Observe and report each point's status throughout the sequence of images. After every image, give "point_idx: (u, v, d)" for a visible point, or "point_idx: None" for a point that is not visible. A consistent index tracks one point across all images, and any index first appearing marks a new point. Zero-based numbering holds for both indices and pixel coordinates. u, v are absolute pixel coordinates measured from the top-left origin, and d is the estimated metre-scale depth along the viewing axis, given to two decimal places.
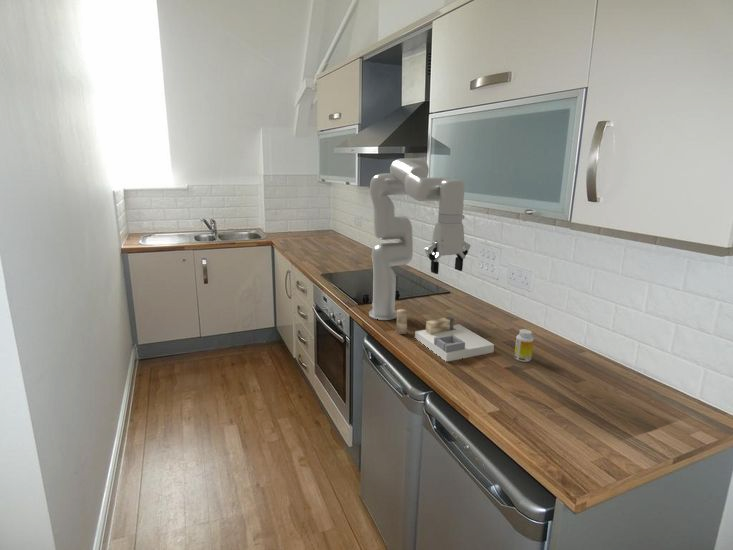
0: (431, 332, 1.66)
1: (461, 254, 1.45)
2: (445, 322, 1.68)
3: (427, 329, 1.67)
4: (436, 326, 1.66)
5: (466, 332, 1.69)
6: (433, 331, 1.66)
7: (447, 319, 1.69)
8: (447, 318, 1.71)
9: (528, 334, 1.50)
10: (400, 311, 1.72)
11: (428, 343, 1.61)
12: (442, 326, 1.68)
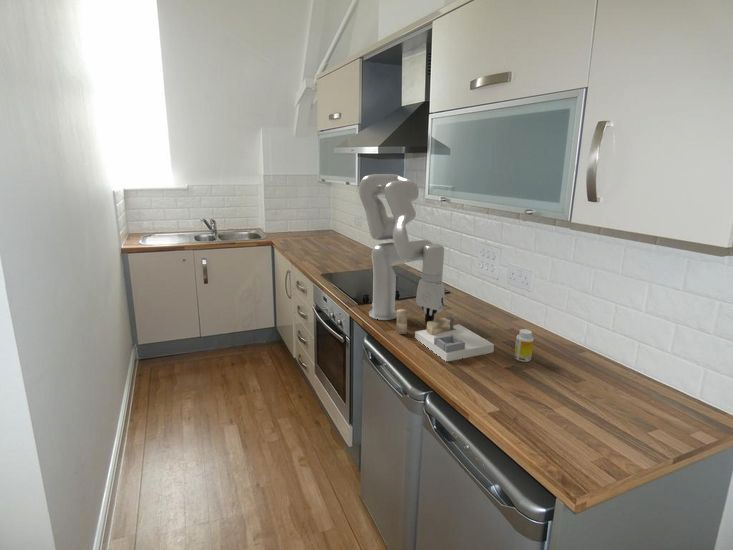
0: (432, 333, 1.65)
1: None
2: (446, 322, 1.68)
3: (428, 330, 1.66)
4: (437, 326, 1.66)
5: (466, 332, 1.69)
6: (434, 331, 1.66)
7: (447, 319, 1.69)
8: (447, 318, 1.71)
9: (528, 334, 1.50)
10: (400, 311, 1.72)
11: (428, 343, 1.61)
12: (443, 326, 1.67)
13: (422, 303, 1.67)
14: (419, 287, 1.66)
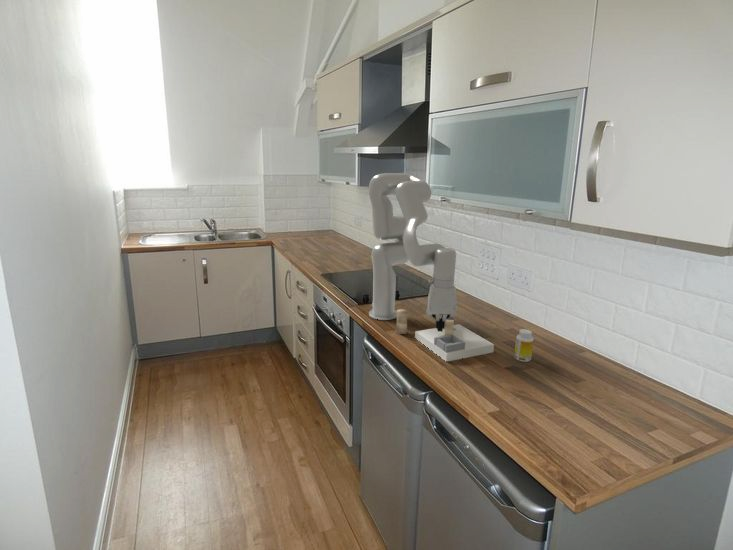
0: None
1: None
2: (453, 323, 1.67)
3: None
4: None
5: (466, 332, 1.69)
6: None
7: (451, 319, 1.69)
8: (448, 318, 1.70)
9: (528, 334, 1.50)
10: (400, 311, 1.72)
11: (428, 343, 1.61)
12: None
13: (437, 311, 1.60)
14: (434, 295, 1.58)
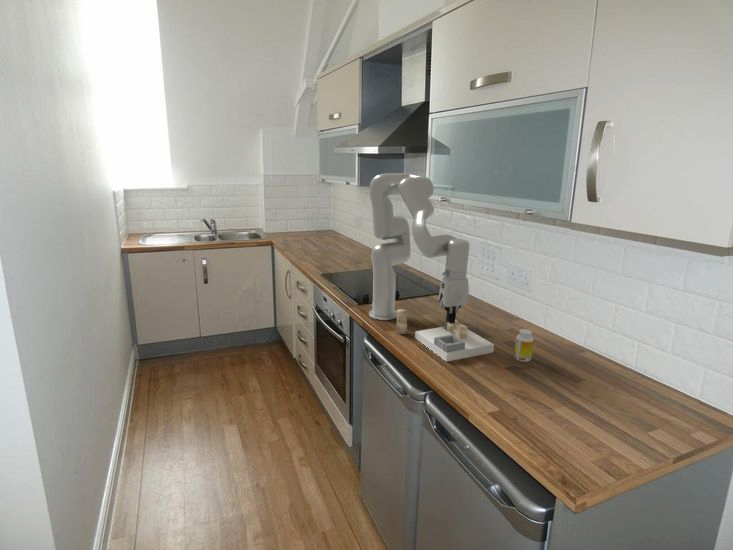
0: None
1: None
2: None
3: (462, 335, 1.62)
4: None
5: None
6: None
7: None
8: None
9: (528, 334, 1.50)
10: (400, 311, 1.72)
11: (428, 343, 1.61)
12: None
13: (452, 303, 1.57)
14: (450, 288, 1.55)
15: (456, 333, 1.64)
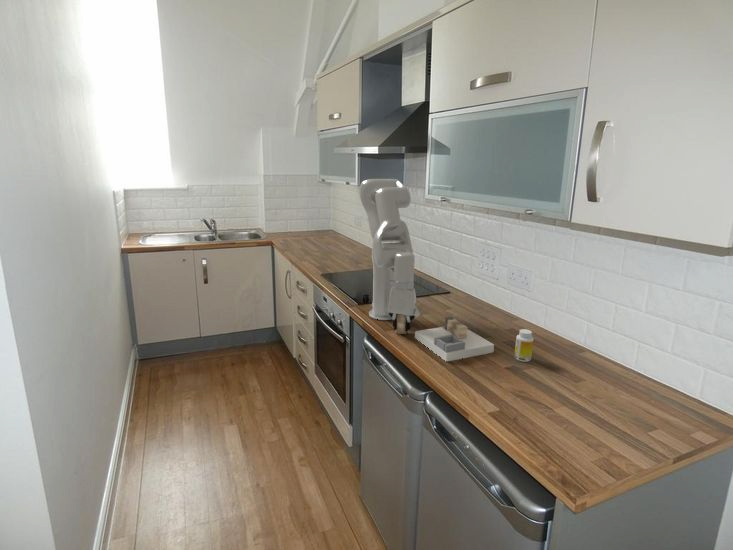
0: None
1: None
2: None
3: (462, 335, 1.62)
4: None
5: None
6: None
7: (452, 319, 1.69)
8: (448, 318, 1.70)
9: (528, 334, 1.50)
10: None
11: (428, 343, 1.61)
12: None
13: (395, 310, 1.70)
14: (392, 295, 1.69)
15: (456, 333, 1.64)
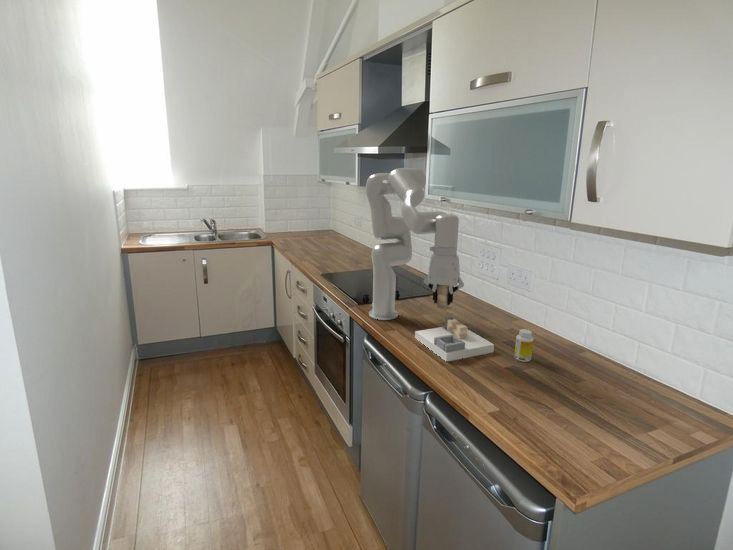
0: None
1: None
2: None
3: (462, 335, 1.62)
4: None
5: None
6: None
7: (452, 319, 1.69)
8: (448, 318, 1.70)
9: (528, 334, 1.50)
10: None
11: (428, 343, 1.61)
12: None
13: (436, 280, 1.51)
14: (433, 264, 1.50)
15: (456, 333, 1.64)
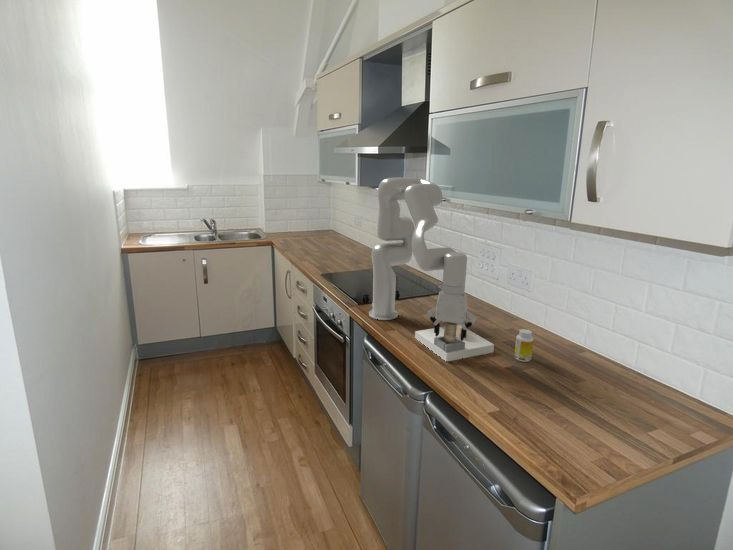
0: None
1: None
2: None
3: None
4: None
5: None
6: None
7: None
8: None
9: (528, 334, 1.50)
10: (448, 323, 1.52)
11: (428, 343, 1.61)
12: None
13: (444, 318, 1.51)
14: (441, 301, 1.50)
15: (456, 333, 1.64)
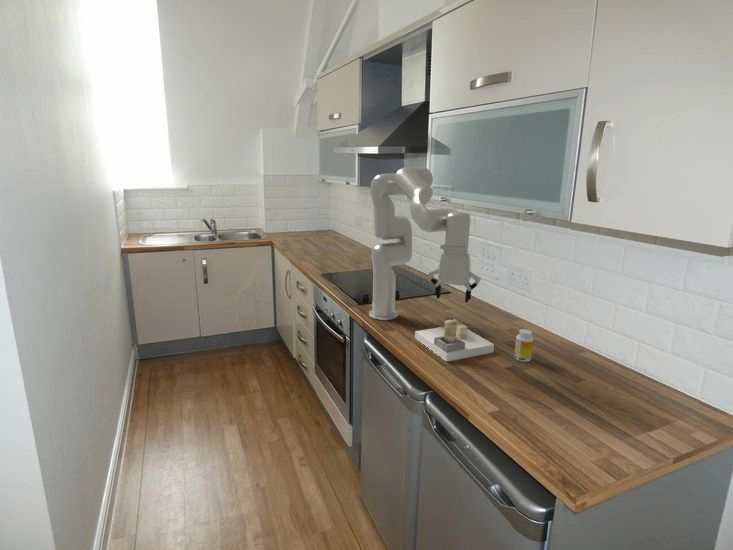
0: None
1: None
2: None
3: (462, 335, 1.62)
4: None
5: None
6: None
7: (452, 319, 1.69)
8: (448, 318, 1.70)
9: (528, 334, 1.50)
10: (448, 322, 1.53)
11: (428, 343, 1.61)
12: None
13: (446, 280, 1.47)
14: (443, 262, 1.46)
15: (456, 333, 1.64)
